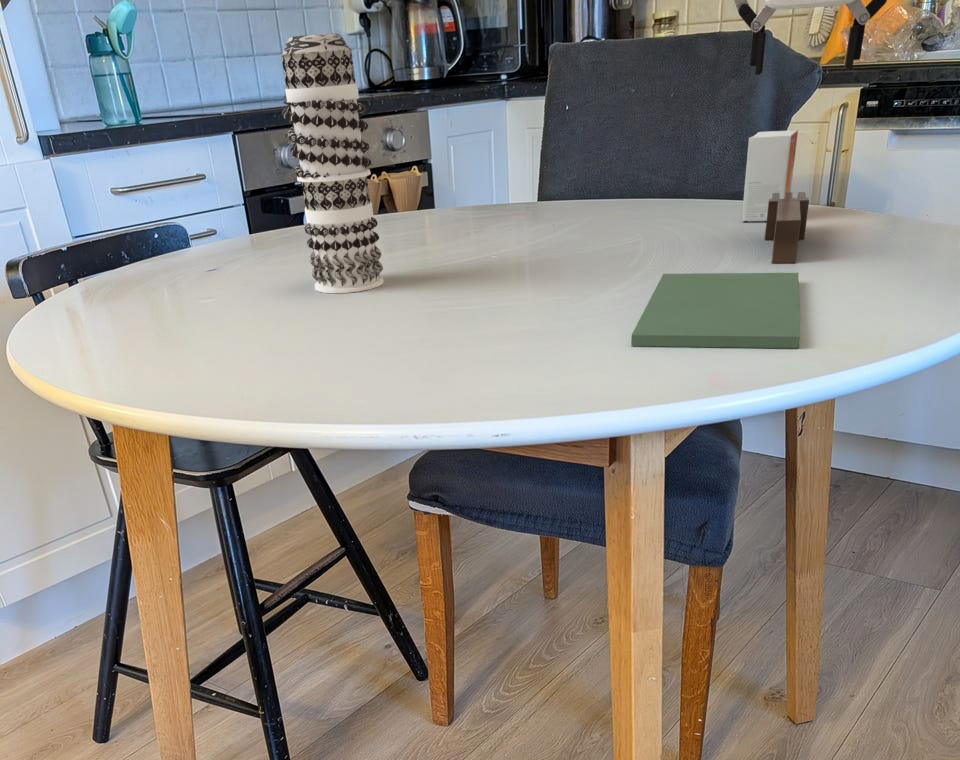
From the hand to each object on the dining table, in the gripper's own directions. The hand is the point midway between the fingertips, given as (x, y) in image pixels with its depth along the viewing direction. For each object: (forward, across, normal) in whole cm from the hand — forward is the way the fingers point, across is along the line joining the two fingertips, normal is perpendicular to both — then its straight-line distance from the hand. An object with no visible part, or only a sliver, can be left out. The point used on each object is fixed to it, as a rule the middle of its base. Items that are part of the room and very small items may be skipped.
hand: (802, 71), depth 99 cm
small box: (+18, -2, +19) cm, 27 cm away
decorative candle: (+19, -50, -21) cm, 57 cm away
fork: (+18, 0, -1) cm, 18 cm away
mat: (+18, -5, -33) cm, 38 cm away
